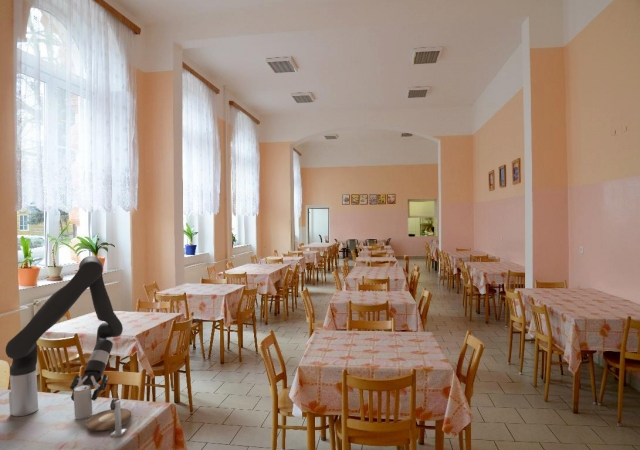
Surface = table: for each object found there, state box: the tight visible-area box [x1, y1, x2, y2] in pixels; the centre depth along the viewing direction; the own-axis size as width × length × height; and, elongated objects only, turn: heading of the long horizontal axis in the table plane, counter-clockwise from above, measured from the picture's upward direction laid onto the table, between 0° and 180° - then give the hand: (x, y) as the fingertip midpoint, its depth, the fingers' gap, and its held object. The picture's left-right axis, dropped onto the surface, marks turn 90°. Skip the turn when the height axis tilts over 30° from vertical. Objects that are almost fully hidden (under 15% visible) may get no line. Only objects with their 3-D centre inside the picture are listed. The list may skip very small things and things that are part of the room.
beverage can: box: [73, 385, 93, 420], centre depth 178 cm, size 6×6×12 cm
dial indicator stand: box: [109, 398, 128, 438], centre depth 162 cm, size 4×5×13 cm
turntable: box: [85, 408, 133, 432], centre depth 170 cm, size 16×16×1 cm
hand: (83, 400), depth 178 cm, fingers open, 8 cm apart
